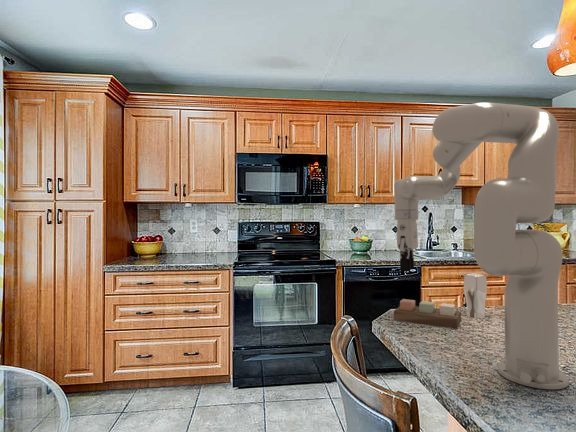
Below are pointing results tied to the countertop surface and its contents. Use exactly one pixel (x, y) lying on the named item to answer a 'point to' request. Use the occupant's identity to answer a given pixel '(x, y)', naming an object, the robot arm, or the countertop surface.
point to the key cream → (447, 309)
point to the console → (428, 318)
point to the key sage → (427, 307)
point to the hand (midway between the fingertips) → (407, 269)
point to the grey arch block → (475, 294)
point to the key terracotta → (407, 305)
